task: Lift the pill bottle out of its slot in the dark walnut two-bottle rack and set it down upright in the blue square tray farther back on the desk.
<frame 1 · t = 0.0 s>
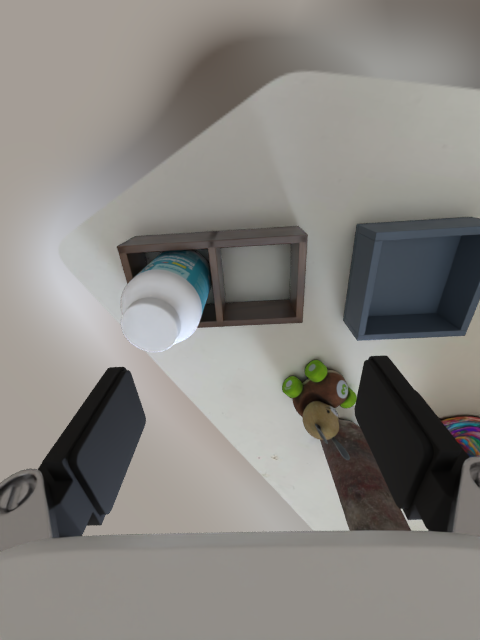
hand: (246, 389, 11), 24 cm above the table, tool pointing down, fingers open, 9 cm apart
pill bottle: (183, 273, 33), resting in rack
rack: (219, 272, 33), on the table
candle: (339, 430, 47), on the table
toy car: (316, 384, 42), on the table
blue square tray: (400, 273, 33), on the table
vase: (446, 444, 49), on the table
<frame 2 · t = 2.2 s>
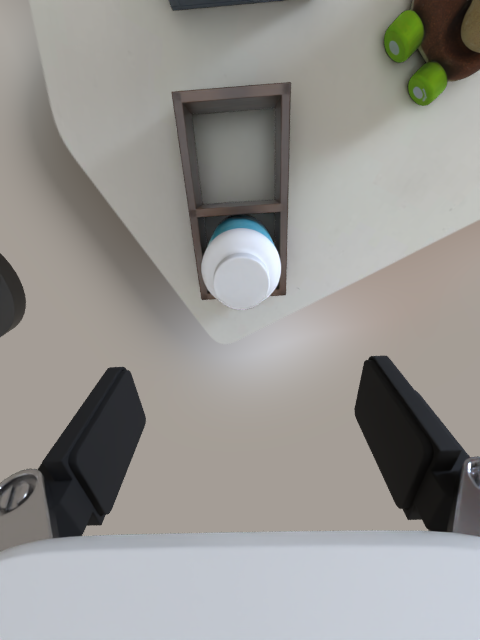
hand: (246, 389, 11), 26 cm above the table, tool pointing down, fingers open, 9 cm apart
pill bottle: (240, 244, 33), resting in rack
rack: (238, 205, 31), on the table
toy car: (442, 30, 24), on the table
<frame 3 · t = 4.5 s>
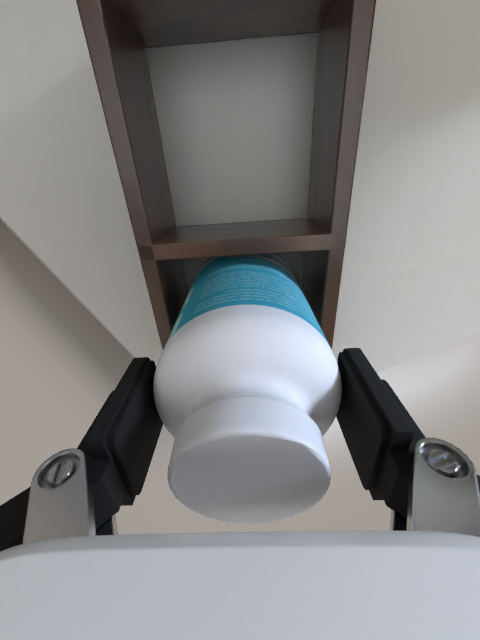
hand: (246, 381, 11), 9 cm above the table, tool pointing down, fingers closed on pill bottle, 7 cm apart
pill bottle: (245, 293, 19), resting in rack, touching gripper
rack: (241, 228, 17), on the table
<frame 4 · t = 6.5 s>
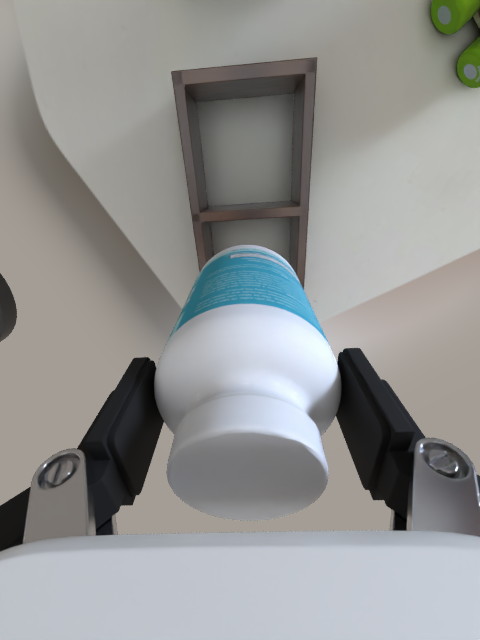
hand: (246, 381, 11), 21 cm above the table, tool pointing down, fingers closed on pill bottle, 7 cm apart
pill bottle: (247, 292, 19), point 11 cm above the table, touching gripper
rack: (249, 207, 27), on the table
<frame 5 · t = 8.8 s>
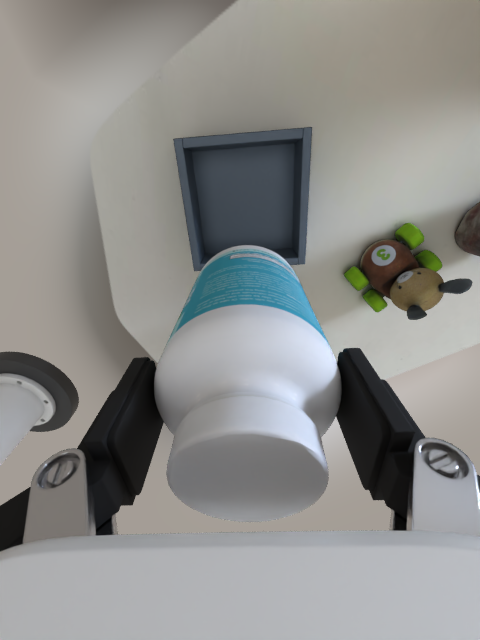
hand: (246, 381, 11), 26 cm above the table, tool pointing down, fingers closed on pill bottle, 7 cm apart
pill bottle: (247, 293, 19), point 16 cm above the table, touching gripper
toy car: (385, 266, 35), on the table
blue square tray: (245, 203, 31), on the table
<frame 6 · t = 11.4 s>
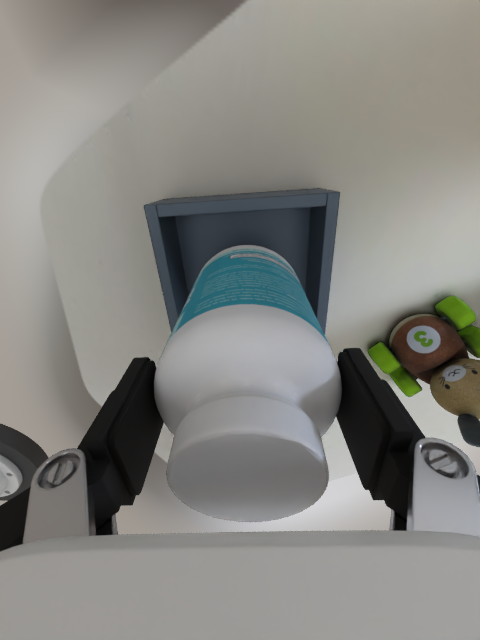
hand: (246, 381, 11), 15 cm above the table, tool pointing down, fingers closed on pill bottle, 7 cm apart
pill bottle: (247, 292, 19), point 6 cm above the table, touching gripper
toy car: (418, 340, 28), on the table
blue square tray: (245, 269, 24), on the table
when the fingers open (10 cm above the table, at t = 13.2 s): pill bottle stays where it is, resting on blue square tray.
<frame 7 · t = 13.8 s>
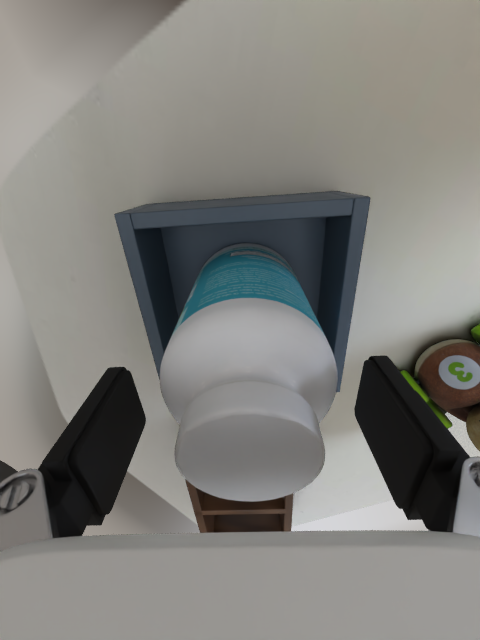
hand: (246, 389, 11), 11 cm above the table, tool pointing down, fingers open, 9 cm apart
pill bottle: (246, 290, 20), resting on blue square tray
rack: (243, 465, 31), on the table
toy car: (447, 367, 24), on the table
blue square tray: (245, 287, 20), on the table
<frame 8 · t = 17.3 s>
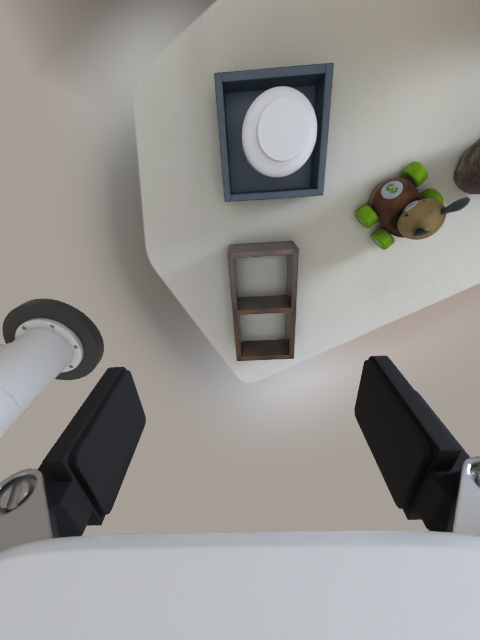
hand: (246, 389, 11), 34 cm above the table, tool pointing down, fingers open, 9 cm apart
pill bottle: (270, 144, 35), resting on blue square tray
rack: (262, 298, 46), on the table
toy car: (392, 207, 39), on the table
blue square tray: (269, 144, 35), on the table
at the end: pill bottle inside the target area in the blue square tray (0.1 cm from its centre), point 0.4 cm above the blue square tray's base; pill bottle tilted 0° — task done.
